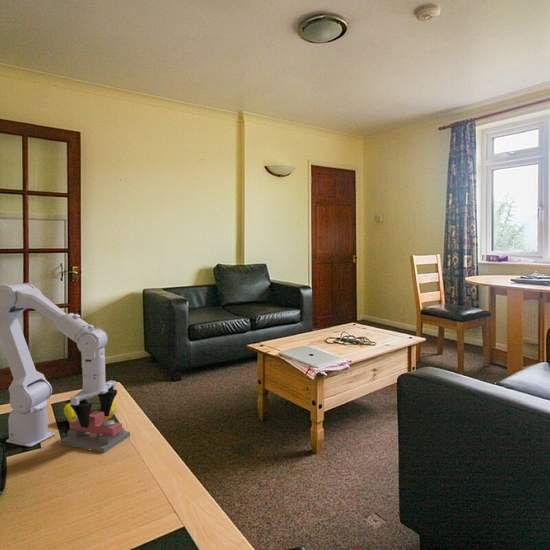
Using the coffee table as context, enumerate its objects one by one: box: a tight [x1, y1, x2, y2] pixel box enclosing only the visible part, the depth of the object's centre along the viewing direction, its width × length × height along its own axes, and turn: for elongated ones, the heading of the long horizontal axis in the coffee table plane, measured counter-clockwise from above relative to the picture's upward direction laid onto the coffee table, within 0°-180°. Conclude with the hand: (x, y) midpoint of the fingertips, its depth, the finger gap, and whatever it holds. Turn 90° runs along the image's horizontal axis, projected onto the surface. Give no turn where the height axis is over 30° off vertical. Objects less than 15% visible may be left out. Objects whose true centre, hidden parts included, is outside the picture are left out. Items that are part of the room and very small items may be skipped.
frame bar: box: [69, 411, 123, 436], centre depth 107 cm, size 15×4×4 cm, turn 71°
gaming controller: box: [63, 399, 116, 424], centre depth 121 cm, size 15×6×10 cm
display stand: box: [59, 427, 131, 453], centre depth 107 cm, size 15×10×3 cm, turn 71°
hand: (95, 421), depth 107 cm, fingers open, 7 cm apart
